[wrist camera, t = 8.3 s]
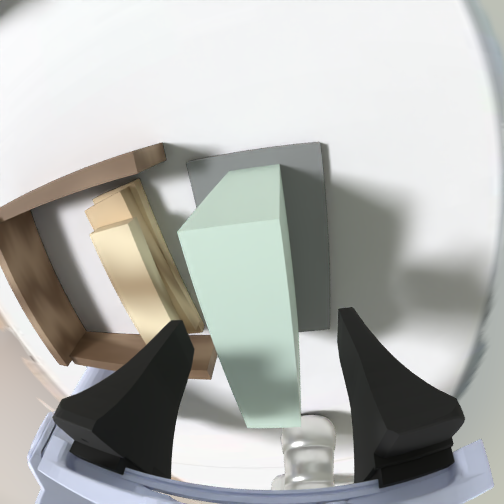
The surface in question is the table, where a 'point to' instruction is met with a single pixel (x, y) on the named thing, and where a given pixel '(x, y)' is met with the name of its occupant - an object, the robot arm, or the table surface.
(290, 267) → the pale green block
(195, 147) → the table surface
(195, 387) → the table surface
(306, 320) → the mat
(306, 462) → the plastic bottle
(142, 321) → the offcuts
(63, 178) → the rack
